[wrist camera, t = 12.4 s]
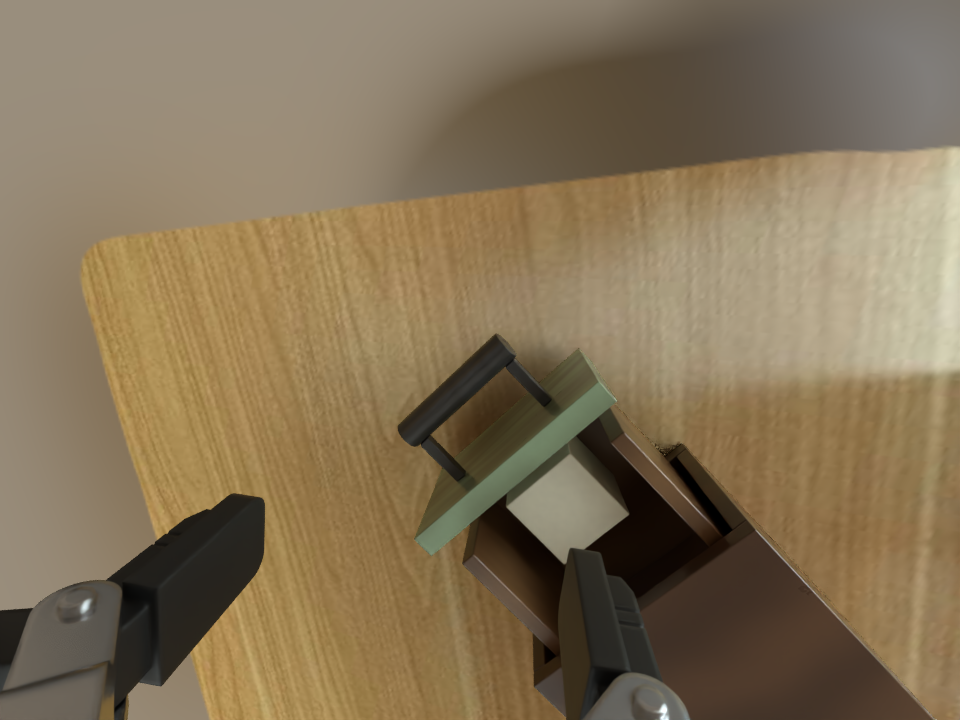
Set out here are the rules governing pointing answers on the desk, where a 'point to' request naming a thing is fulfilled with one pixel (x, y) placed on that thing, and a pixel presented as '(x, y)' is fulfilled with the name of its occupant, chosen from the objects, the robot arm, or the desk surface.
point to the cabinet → (752, 633)
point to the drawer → (524, 447)
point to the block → (568, 500)
